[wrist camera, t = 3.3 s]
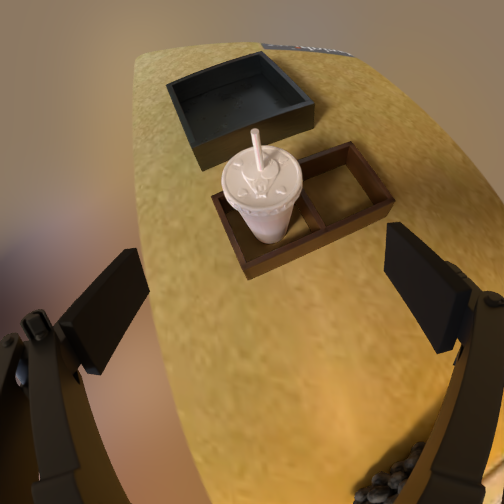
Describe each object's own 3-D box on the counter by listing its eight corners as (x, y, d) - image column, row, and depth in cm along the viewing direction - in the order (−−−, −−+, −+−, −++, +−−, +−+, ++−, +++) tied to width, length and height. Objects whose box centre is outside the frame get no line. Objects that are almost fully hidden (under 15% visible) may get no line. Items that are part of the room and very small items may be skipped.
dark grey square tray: (313, 128, 35) (314, 103, 31) (202, 171, 35) (191, 148, 30) (264, 72, 41) (261, 50, 36) (174, 105, 40) (165, 84, 36)
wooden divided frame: (386, 216, 30) (395, 201, 26) (248, 280, 29) (242, 270, 26) (346, 159, 33) (351, 140, 29) (218, 211, 32) (210, 195, 29)
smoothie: (297, 200, 31) (299, 103, 18) (302, 254, 29) (310, 173, 16) (240, 203, 32) (210, 111, 19) (239, 257, 30) (202, 181, 17)
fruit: (352, 565, 10) (507, 472, 10) (322, 496, 15) (481, 405, 15) (348, 536, 17) (469, 469, 17) (324, 481, 22) (447, 416, 22)
